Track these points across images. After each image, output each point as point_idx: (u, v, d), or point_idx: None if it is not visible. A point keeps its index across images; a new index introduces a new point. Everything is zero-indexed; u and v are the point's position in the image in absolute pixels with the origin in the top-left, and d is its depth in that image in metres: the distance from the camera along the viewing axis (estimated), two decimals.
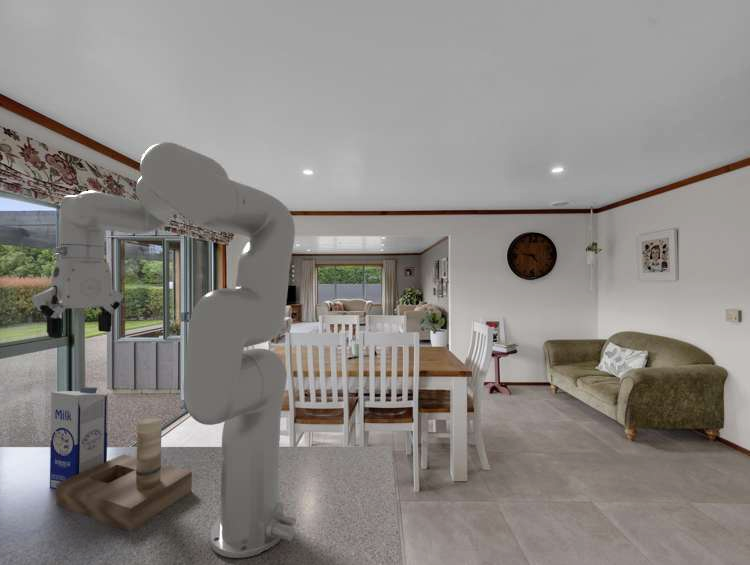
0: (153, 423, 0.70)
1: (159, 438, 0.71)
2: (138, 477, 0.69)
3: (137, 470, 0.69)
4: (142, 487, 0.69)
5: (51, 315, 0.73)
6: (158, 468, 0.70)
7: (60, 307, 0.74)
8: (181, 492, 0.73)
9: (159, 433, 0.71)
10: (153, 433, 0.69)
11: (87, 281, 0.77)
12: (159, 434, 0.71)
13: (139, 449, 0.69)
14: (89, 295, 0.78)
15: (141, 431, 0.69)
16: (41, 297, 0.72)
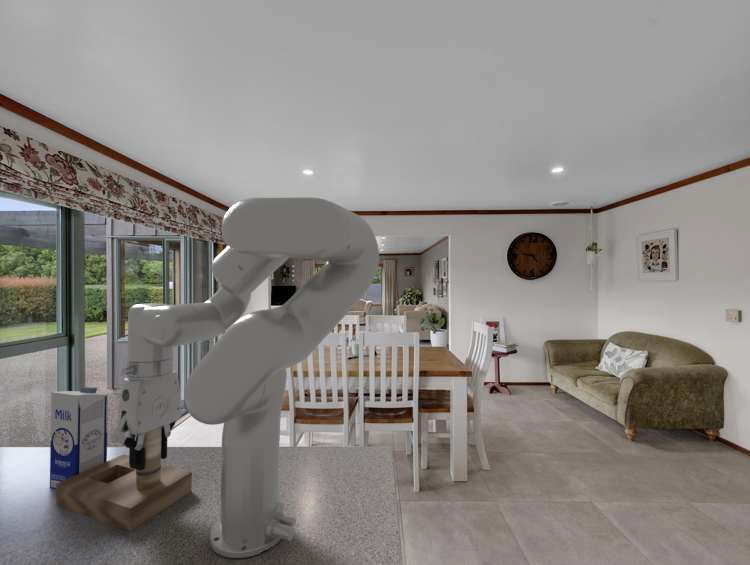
0: None
1: (159, 438, 0.71)
2: (138, 477, 0.69)
3: (137, 470, 0.69)
4: (142, 487, 0.69)
5: (135, 449, 0.67)
6: (158, 468, 0.70)
7: (139, 437, 0.67)
8: (181, 492, 0.73)
9: (159, 433, 0.71)
10: (153, 433, 0.69)
11: (157, 400, 0.69)
12: (159, 434, 0.71)
13: None
14: (159, 415, 0.69)
15: None
16: (120, 435, 0.65)
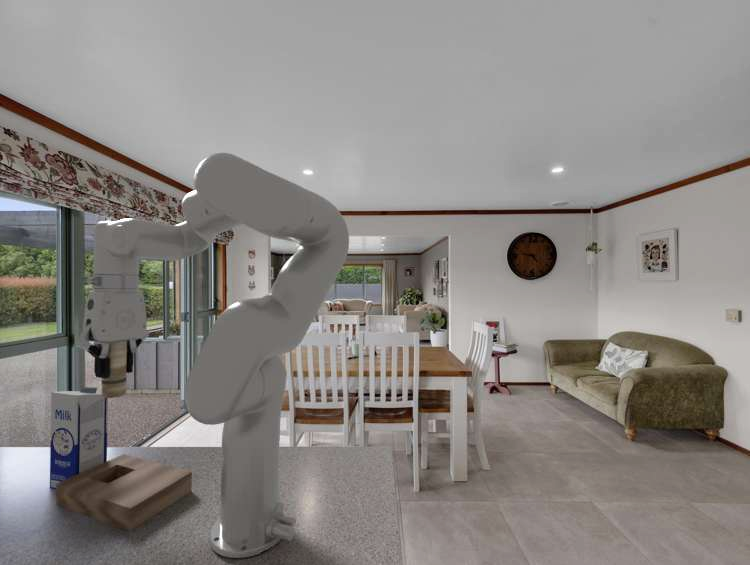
0: None
1: (124, 351, 0.74)
2: (103, 386, 0.72)
3: (102, 379, 0.72)
4: (107, 395, 0.72)
5: (100, 357, 0.70)
6: (123, 379, 0.74)
7: (103, 346, 0.71)
8: (181, 492, 0.73)
9: (124, 346, 0.74)
10: (118, 344, 0.73)
11: (122, 313, 0.72)
12: (124, 347, 0.74)
13: None
14: (124, 328, 0.73)
15: None
16: (84, 341, 0.68)
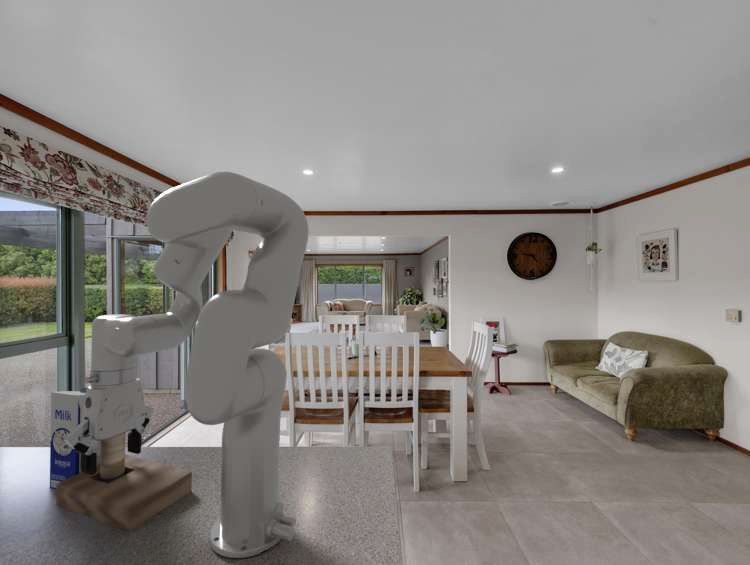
0: None
1: (122, 444, 0.74)
2: None
3: (101, 475, 0.72)
4: None
5: (85, 453, 0.68)
6: (121, 473, 0.74)
7: (94, 441, 0.69)
8: (181, 492, 0.73)
9: (122, 440, 0.74)
10: (116, 439, 0.73)
11: (120, 407, 0.72)
12: (122, 441, 0.74)
13: (103, 455, 0.72)
14: (122, 421, 0.73)
15: None
16: (74, 436, 0.67)
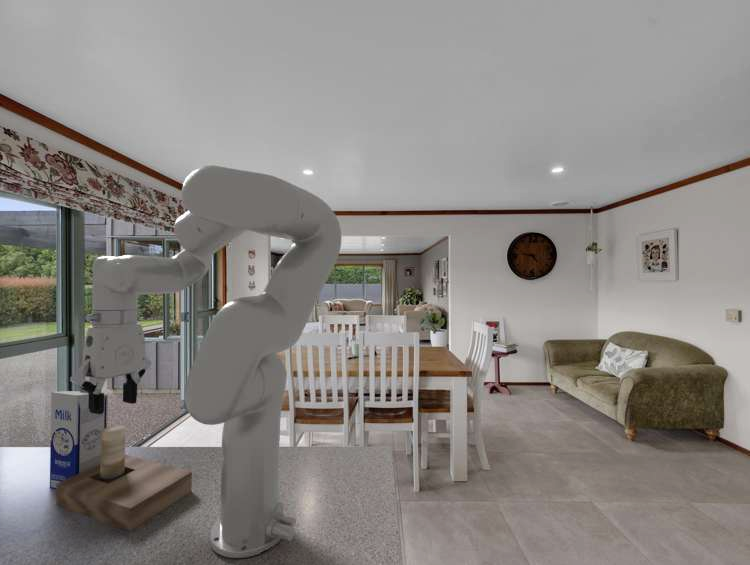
0: (116, 430, 0.73)
1: (122, 444, 0.74)
2: None
3: (101, 475, 0.72)
4: None
5: (94, 392, 0.69)
6: (121, 473, 0.74)
7: (99, 381, 0.70)
8: (181, 492, 0.73)
9: (122, 440, 0.74)
10: (116, 440, 0.73)
11: (121, 348, 0.72)
12: (122, 441, 0.74)
13: (103, 455, 0.72)
14: (123, 363, 0.73)
15: (104, 438, 0.72)
16: (80, 376, 0.68)
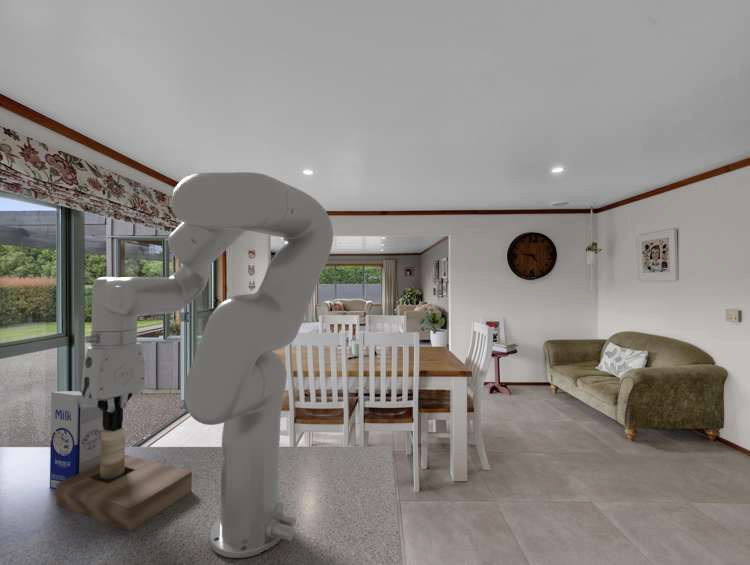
0: (116, 430, 0.73)
1: (122, 444, 0.74)
2: None
3: (100, 475, 0.72)
4: None
5: (108, 411, 0.72)
6: (121, 473, 0.74)
7: (108, 401, 0.72)
8: (181, 492, 0.73)
9: (122, 439, 0.74)
10: (116, 439, 0.73)
11: (120, 368, 0.72)
12: (122, 440, 0.74)
13: (102, 455, 0.72)
14: (122, 383, 0.73)
15: (104, 438, 0.72)
16: (90, 401, 0.70)
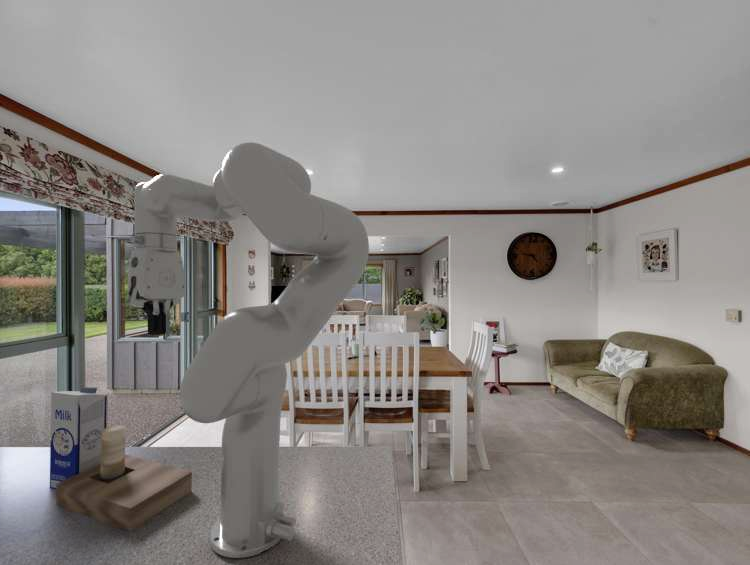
0: (117, 430, 0.73)
1: (122, 444, 0.74)
2: None
3: (101, 475, 0.72)
4: None
5: (154, 314, 0.73)
6: (121, 473, 0.74)
7: (154, 304, 0.73)
8: (181, 492, 0.73)
9: (122, 440, 0.74)
10: (116, 439, 0.73)
11: (164, 271, 0.74)
12: (122, 441, 0.74)
13: (103, 455, 0.72)
14: (166, 286, 0.74)
15: (105, 438, 0.72)
16: (138, 300, 0.71)
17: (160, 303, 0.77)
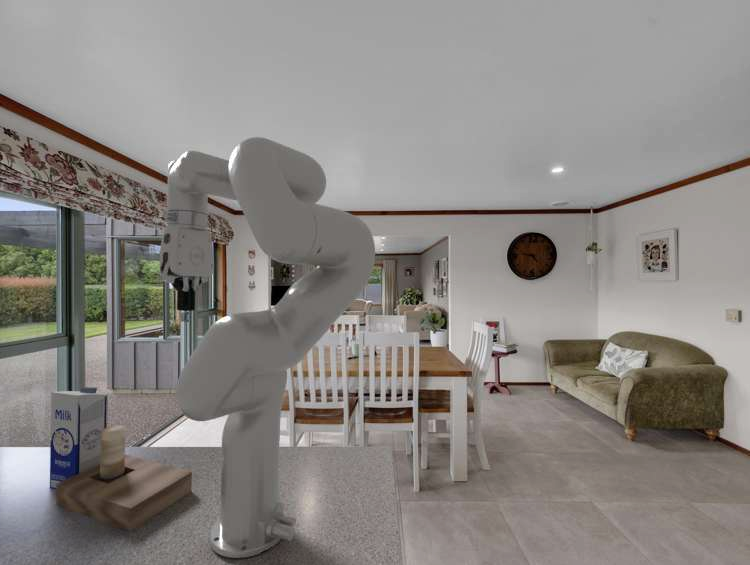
0: (116, 430, 0.73)
1: (122, 444, 0.74)
2: None
3: (101, 475, 0.72)
4: None
5: (183, 290, 0.75)
6: (121, 473, 0.74)
7: (184, 280, 0.75)
8: (181, 492, 0.73)
9: (122, 440, 0.74)
10: (116, 439, 0.73)
11: (194, 249, 0.75)
12: (122, 441, 0.74)
13: (103, 455, 0.72)
14: (196, 264, 0.76)
15: (104, 438, 0.72)
16: (169, 275, 0.72)
17: (189, 280, 0.78)
